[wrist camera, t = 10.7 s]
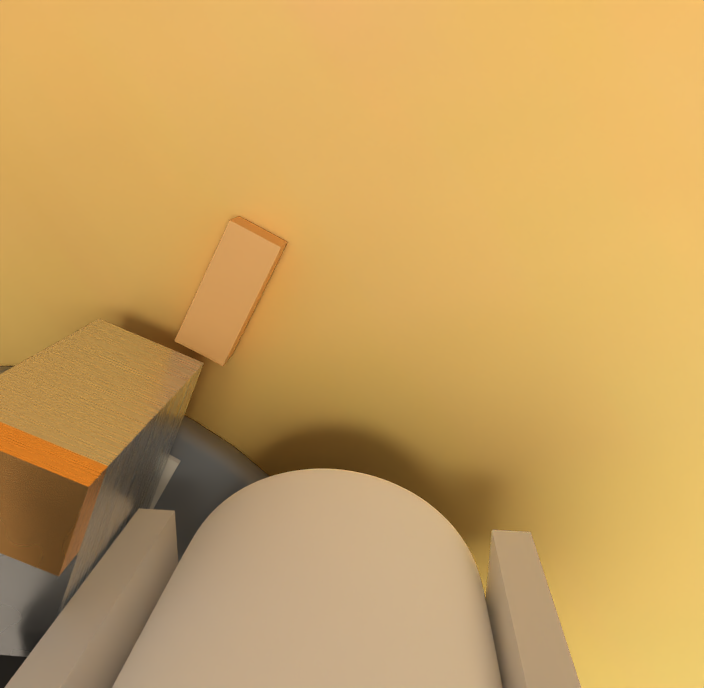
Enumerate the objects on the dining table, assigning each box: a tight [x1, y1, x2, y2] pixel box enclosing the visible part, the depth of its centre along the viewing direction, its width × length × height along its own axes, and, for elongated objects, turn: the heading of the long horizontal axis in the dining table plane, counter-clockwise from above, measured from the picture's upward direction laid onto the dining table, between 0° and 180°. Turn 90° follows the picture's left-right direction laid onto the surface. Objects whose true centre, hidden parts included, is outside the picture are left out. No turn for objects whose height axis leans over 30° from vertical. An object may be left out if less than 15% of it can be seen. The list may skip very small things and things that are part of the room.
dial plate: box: [0, 366, 270, 563], centre depth 18 cm, size 18×18×1 cm
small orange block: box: [175, 216, 287, 366], centre depth 14 cm, size 3×1×1 cm, turn 152°
